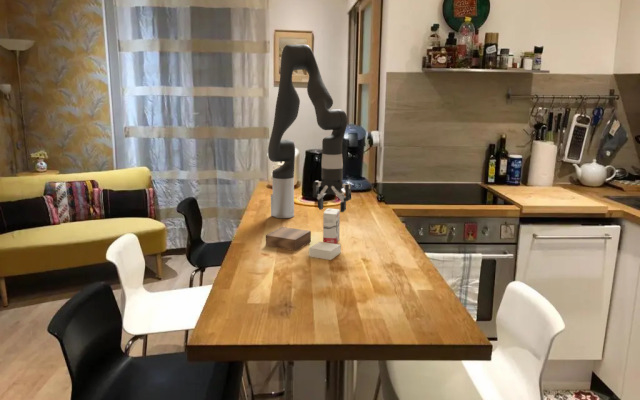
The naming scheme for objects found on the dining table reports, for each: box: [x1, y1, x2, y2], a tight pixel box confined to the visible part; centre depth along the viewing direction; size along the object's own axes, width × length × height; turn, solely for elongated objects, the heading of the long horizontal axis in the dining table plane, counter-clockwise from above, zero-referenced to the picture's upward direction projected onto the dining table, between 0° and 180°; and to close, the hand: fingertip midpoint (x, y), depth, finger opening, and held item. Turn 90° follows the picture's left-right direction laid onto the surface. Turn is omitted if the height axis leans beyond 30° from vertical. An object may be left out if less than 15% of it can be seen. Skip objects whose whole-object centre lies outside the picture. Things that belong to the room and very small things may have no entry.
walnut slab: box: [265, 226, 312, 251], centre depth 187 cm, size 12×12×4 cm
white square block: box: [308, 241, 342, 261], centre depth 176 cm, size 8×8×3 cm
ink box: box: [322, 207, 341, 244], centre depth 189 cm, size 9×5×12 cm, turn 168°
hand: (331, 210), depth 187 cm, fingers open, 8 cm apart
